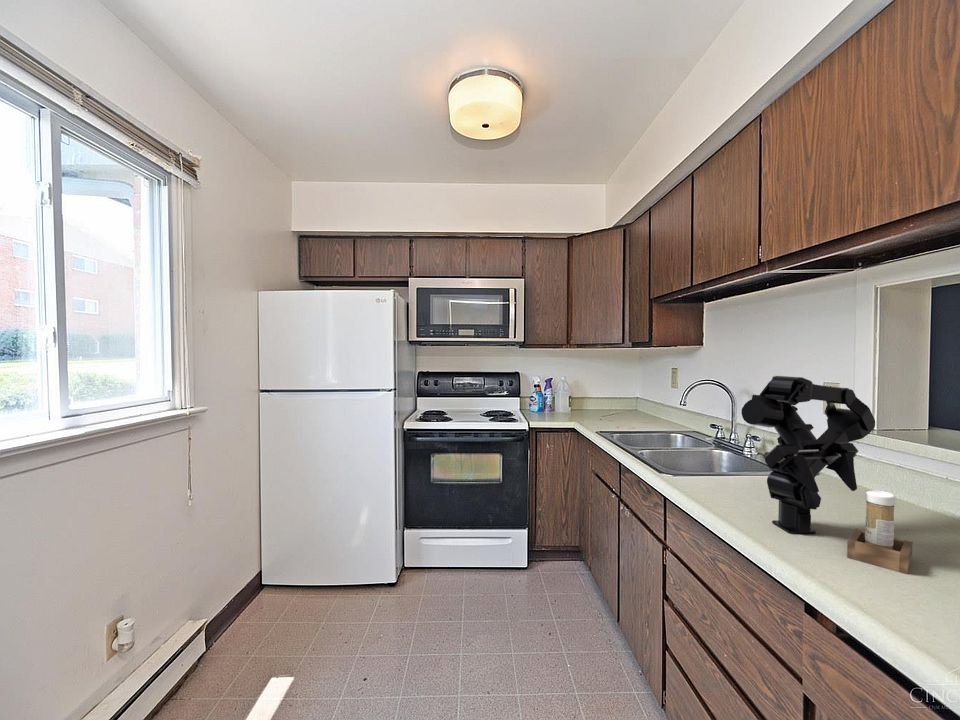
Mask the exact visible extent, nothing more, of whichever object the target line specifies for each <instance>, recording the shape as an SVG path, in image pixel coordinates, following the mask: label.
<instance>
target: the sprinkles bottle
mask: <svg viewBox="0 0 960 720" xmlns="http://www.w3.org/2000/svg"><path fill="white" fill-rule="evenodd" d="M864 499H865V502H866V507H865V509H866V513H865V514H866V515H865V529H864V531H865V543H867V544H871V545H875V546H879V547H883V548H887V549H891V550H893V539H894V538H895V537H894V536H895V535H894V533H895V507H896V506H895V505H896V495H895V494H893V493H891V492H888V491H882V490H876V489H869V490H866V491H865V498H864Z"/></svg>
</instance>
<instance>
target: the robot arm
mask: <svg viewBox="0 0 960 720" xmlns="http://www.w3.org/2000/svg"><path fill="white" fill-rule="evenodd" d="M771 378H772V379H771V380H770V381H769V382H767V384H766V385H765V387H764V388H763V389H762V391H761V392H760V393H759V394H752V395H751V399H750V400H749V399H748V400H747V401H746V402H745V404H743V407H741V411H740V412H741V417H742V419H743V420H744V422H745V423H747V424H749V425H753V426H758V427H765V428H774V429H775V431H776V432H777V434H778V435H779V436H778V437H777V439H776V440H777V443H778V444H776V445H775V446H774V447H772V449H771V450H770V451H766V452H764V455H763V458H764V462H765V464H766V466H767V468H768V469H769V470H771V471H770V473H769V474H768V476H767V479H766V484H767V488H768V492H769V495H770V498H771V499H773V500H774V499H775V500H777V501H778V518H777V520H772V521H771V523H772V524H773V525H775V526H776V527H779V528H780V529H782V530H783V531H785V532H787V533H789V534H817V533H818V532H817V530H816V529H814V528H813V527H812V513H811V510H817V509H818V508H820V506H821V501H822V497H821V496H820V494H819V492H820V489H819V487H818V485H817V482H816V479H815V478H816V477H817V476H818V474H819V473H821V471H822V470H823V469H824V468H826V469H828V470H832V471H834V472H835V473H836V475H837V476H838V477H839V478H840V479H841V481H842V482H843V483H844V484H845V486H846V487H847V488H848V489H850V491H852V492H855V491H857V489H858V486H857V485H858V484H857V479H856V473H855V462H854V461H855V460H854V458H855V457H856V456H857V453H859V450H858V448H856V447H857V446H855V444H853V443H852V442H854V441H859V440H862V439H864V438H865V437H866V436H868V435H870V434H871V433H872V431H874V429H875V427H876V420H875V417H874V415H873V413H872V411H871V408H870V407H869V406H868V405H867V404H865V403H864V402H863V401H861V400H860V399H859V398H858V397H857V395H856V393H855V392H854V390H853V389H850V388H849V387H837V386H827V385H823V384H822V385H821V384H815V383H813V381H812V380H809V379H808V378H805V377H800V376H789V375H788V376H787V375H774V376H772V377H771ZM811 400H813V401H822V402H825V403H826V406H825V409H824V414H825V416H826V418H827V419H826V422H827V423H826V424H827V425H826V426H827V429H825V431H824V432H823V433H822V434H821V435H819V437H818V438H816V436H815V434H814V433H813V432H812V430H813V429H814V427H815V426H813V425H812V423H805V421H804V420H803V418H802V417H801V416H800V415H799V412H797V411H798V410H799V409H798V407H796V405H797V404H799V403H806V402H810V401H811ZM835 404H839V405H845V406H846V407H847V408H837V406H836V405H835Z"/></svg>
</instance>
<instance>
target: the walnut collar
mask: <svg viewBox="0 0 960 720" xmlns="http://www.w3.org/2000/svg"><path fill="white" fill-rule="evenodd" d="M913 545H914V543H913V541H909V540H905V539H901V538H897V537H894V539H893V550H891V549H887V548H883V547H879V546H875V545H871V544H867V543H865V529H864V530H863V529H858V528H855V529H854V530H853V532H852V534H851V535H850V536H849V537H848V539H847V544H846V546H847V547H846V549H847V550H846V551H847V552H846V557H847V559H850V560H855V561H859V562H862V563H866V564H870V565H873V566H877V567H881V568H883V569H888V570H892V571H895V572H899V573H902V574H906V575H908V574H909V572H910V571H909V570H910V568H911V564H912V560H913V548H914V547H913Z"/></svg>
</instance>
